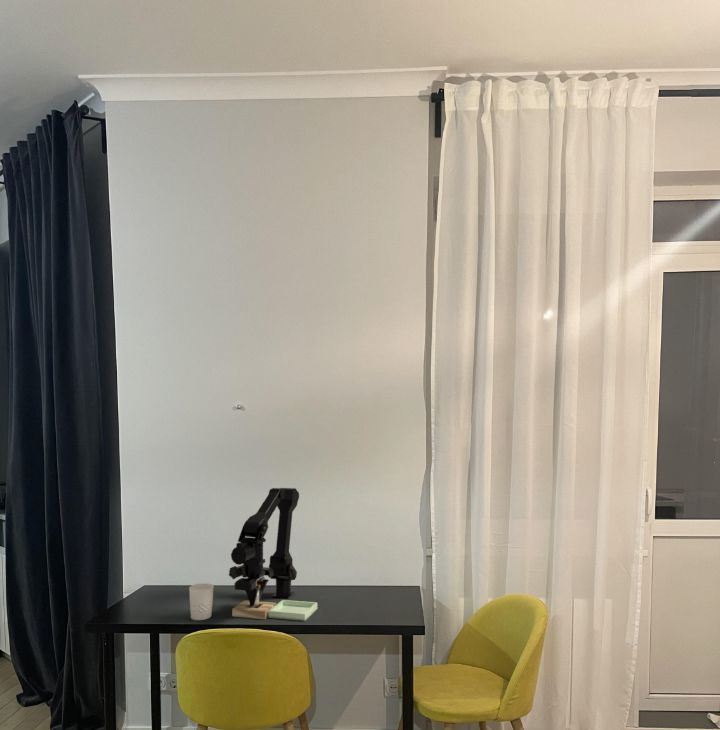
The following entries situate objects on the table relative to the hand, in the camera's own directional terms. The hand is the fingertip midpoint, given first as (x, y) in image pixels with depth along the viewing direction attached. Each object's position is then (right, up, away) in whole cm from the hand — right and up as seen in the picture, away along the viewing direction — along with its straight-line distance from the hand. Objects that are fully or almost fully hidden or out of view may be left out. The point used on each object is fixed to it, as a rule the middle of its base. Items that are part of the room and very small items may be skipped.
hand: (254, 604), depth 200 cm
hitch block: (0, -3, 0) cm, 3 cm away
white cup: (-17, -3, -3) cm, 18 cm away
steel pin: (0, -3, 0) cm, 3 cm away
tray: (+13, -3, -1) cm, 14 cm away
